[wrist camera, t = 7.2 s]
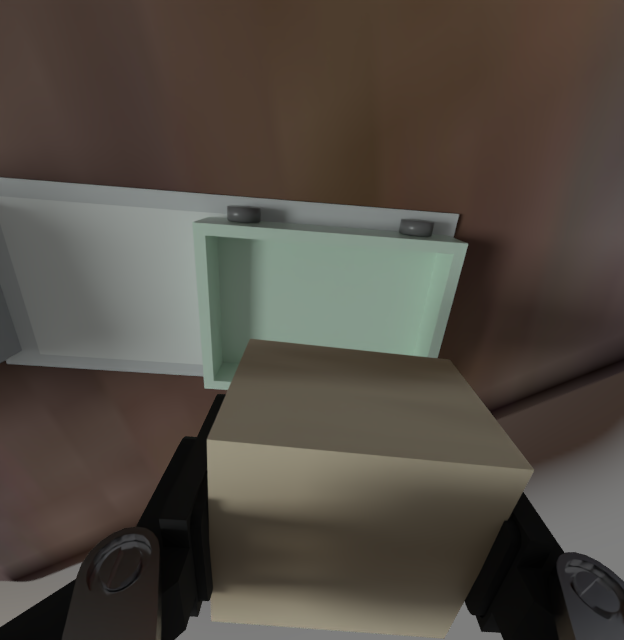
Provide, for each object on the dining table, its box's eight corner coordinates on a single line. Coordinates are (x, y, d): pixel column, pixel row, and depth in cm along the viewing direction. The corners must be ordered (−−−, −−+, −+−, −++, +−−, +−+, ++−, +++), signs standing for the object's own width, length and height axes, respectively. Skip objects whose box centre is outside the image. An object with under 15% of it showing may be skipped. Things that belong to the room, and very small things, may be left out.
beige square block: (250, 338, 9) (207, 439, 6) (449, 359, 9) (534, 470, 6) (244, 483, 12) (211, 621, 8) (404, 497, 12) (444, 638, 8)
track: (10, 361, 23) (-44, 394, 19) (-57, 172, 18) (-147, 170, 14) (414, 387, 24) (432, 422, 20) (457, 213, 19) (490, 221, 15)
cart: (217, 373, 23) (205, 398, 20) (208, 202, 18) (191, 206, 15) (410, 385, 23) (423, 411, 20) (450, 222, 18) (472, 228, 16)
